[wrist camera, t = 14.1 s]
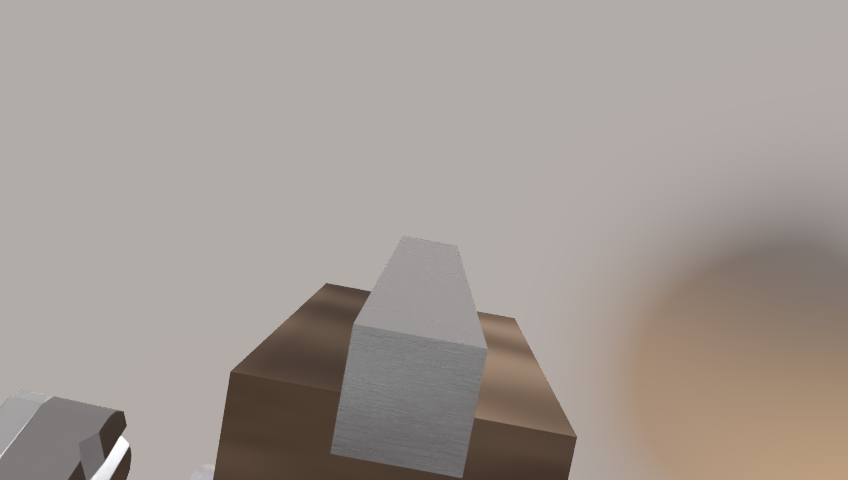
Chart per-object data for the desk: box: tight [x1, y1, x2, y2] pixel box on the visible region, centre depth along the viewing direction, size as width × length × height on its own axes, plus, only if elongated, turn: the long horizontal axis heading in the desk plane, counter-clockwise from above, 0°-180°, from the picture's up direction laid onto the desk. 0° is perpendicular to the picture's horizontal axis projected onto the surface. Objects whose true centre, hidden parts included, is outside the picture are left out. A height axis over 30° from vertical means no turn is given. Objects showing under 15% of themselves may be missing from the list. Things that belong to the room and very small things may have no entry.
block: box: [330, 236, 488, 478], centre depth 26 cm, size 22×3×3 cm, turn 179°
